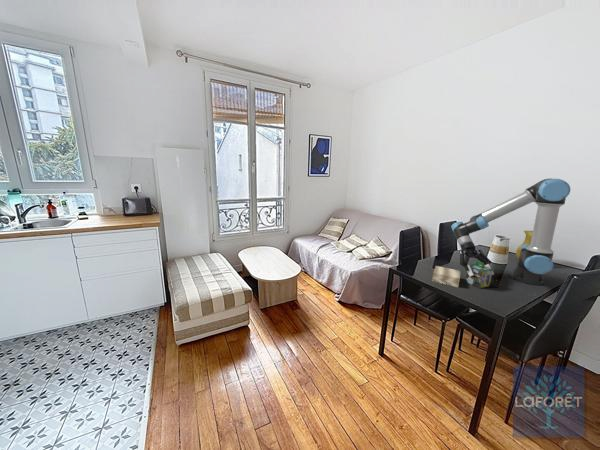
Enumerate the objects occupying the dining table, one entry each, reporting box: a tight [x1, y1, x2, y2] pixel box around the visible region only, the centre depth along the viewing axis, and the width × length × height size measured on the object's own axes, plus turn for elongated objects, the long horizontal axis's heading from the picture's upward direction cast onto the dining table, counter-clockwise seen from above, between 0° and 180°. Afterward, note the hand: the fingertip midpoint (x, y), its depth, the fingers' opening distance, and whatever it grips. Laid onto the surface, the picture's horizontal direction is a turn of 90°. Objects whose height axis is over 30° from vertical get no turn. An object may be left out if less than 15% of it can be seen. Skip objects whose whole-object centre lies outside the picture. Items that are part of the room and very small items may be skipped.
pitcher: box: [515, 230, 533, 259], centre depth 184 cm, size 17×19×25 cm
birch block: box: [431, 265, 461, 288], centre depth 154 cm, size 14×14×6 cm
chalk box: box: [465, 260, 493, 289], centre depth 148 cm, size 9×9×15 cm
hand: (481, 275), depth 146 cm, fingers open, 13 cm apart
